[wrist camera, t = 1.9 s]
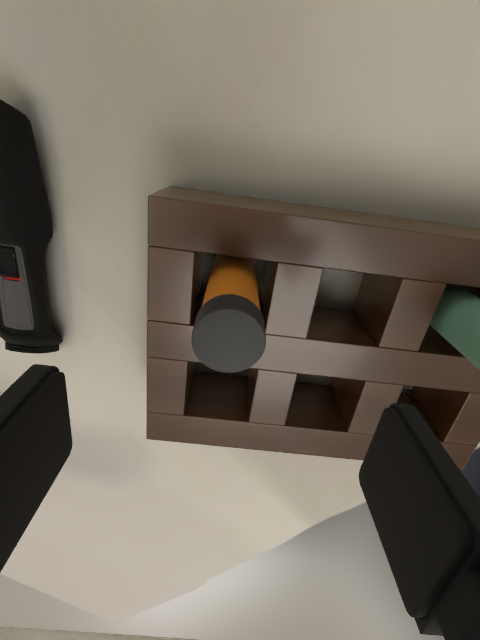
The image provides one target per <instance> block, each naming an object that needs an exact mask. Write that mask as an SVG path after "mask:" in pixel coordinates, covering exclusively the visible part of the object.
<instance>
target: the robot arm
mask: <svg viewBox="0 0 480 640" xmlns="http://www.w3.org/2000/svg"><path fill="white" fill-rule="evenodd" d="M71 449H72V435H71V426H70V417H69V409H68V400H67V391H66V382H65V375H64V373H62V372H59V369H58V368H57V367H56V366H47V365H38V364H35V365H32V366H31V367H30V368H29V369H28V370H27V371H26V372H25V373H24V374H23V375H22V376H21V377H20V378H19V379H17V380H16V381H15V382H14V383H13V384H12V385H11V386H10V387H9V388H8V389H7V390H6V391H5V392H4V393H3V394H2V395H1V396H0V572H1V570H2V569H3V567H4V565H5V564H6V562H7V560H8V558H9V557H10V555H11V553H12V552H13V550H14V548H15V547H16V545H17V543H18V541H19V540H20V538H21V536H22V535H23V533H24V531H25V530H26V528H27V526H28V524H29V523H30V521H31V519H32V518H33V516H34V514H35V513H36V511H37V509H38V507H39V506H40V504H41V502H42V501H43V499H44V497H45V496H46V494H47V492H48V491H49V489H50V487H51V485H52V484H53V482H54V480H55V479H56V477H57V475H58V474H59V472H60V470H61V468H62V467H63V465H64V463H65V462H66V460H67V458H68V457H69V455H70V452H71ZM359 481H360V485H361V488H362V491H363V493H364V496H365V499H366V502H367V504H368V507H369V510H370V512H371V515H372V518H373V520H374V523H375V526H376V529H377V531H378V534H379V537H380V540H381V542H382V545H383V548H384V551H385V553H386V556H387V559H388V562H389V565H390V567H391V570H392V573H393V575H394V578H395V581H396V584H397V586H398V589H399V592H400V595H401V597H402V600H403V603H404V605H405V608H406V610H407V612H408V614H409V615H410V616H411V617H414V618H415V621H416V623H417V626H418V629H419V631H420V634H428V635H441V636H444V638H445V640H480V498H479V496H478V495H477V494H476V492H475V491H474V489H473V488H472V487H471V485H470V484H469V482H468V481H467V479H466V478H465V477H464V475H463V474H462V472H461V471H460V470H459V468H458V467H457V465H456V464H455V462H454V461H453V460H452V458H451V457H450V455H449V454H448V452H447V451H446V450H445V448H444V447H443V445H442V444H441V443H440V441H439V440H438V438H437V437H436V435H435V434H434V433H433V431H432V430H431V428H430V427H429V426H428V424H427V423H426V421H425V420H424V418H423V417H422V416H421V414H420V413H419V411H418V410H417V409H416V407H415V406H413V405H406V404H396V403H393V404H391V405H390V406H389V408H385V409H384V410H383V413H382V415H381V418H380V420H379V423H378V425H377V428H376V430H375V433H374V435H373V438H372V441H371V443H370V446H369V448H368V451H367V453H366V456H365V458H364V461H363V463H362V466H361V468H360V472H359ZM0 640H194V639H181V638H167V637H153V636H138V635H123V634H107V633H92V632H77V631H61V630H44V629H31V628H15V627H0Z"/></svg>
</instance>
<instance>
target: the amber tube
mask: <svg viewBox="0 0 480 640" xmlns="http://www.w3.org/2000/svg"><path fill="white" fill-rule="evenodd" d="M191 343H192V348H193V351H194V353H195V355H196V356H197V358H198V359H199V360H200V361H201V362H202V363H203V364H204V365H206V366H207V367H209V368H211V369H213V370H215V371H219V372H224V373H235V372H240V371H243V370H246V369H248V368H250V367H251V366H253V365H254V364H255V363H256V362H257V361H258V360H259V359H260V358H261V356H262V354H263V352H264V350H265V346H266V335H265V327H264V320H263V316H262V314H261V312H260V304H259V296H258V287H257V278H256V269H255V262H254V259H251V258H243V257H235V256H227V255H219V254H217V256H216V257H215V259H214V262H213V266H212V270H211V274H210V277H209V281H208V285H207V289H206V292H205V296H204V300H203V304H202V307H201V308H200V310H199V312H198V314H197V317H196V321H195V324H194V328H193V331H192V336H191Z"/></svg>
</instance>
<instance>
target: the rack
mask: <svg viewBox="0 0 480 640" xmlns="http://www.w3.org/2000/svg"><path fill="white" fill-rule="evenodd" d="M148 245H149V246H148V301H147V319H148V320H147V439H152V440H162V441H172V442H182V443H193V444H203V445H213V446H223V447H233V448H244V449H254V450H264V451H274V452H284V453H295V454H305V455H315V456H325V457H335V458H346V459H356V460H364V458H365V456H366V453H367V451H368V448H369V446H370V443H371V441H372V438H373V435H374V433H375V430H376V428H377V425H378V423H379V420H380V418H381V415H382V413H383V410H384V409H385V408H389V406H390V405H391V404H393V403H396V404H406V405H413V406H415V407H416V409H417V410H418V411H419V413H420V414H421V416H422V417H423V418H424V420H425V421H426V423H427V424H428V426H429V427H430V428H431V430H432V431H433V433H434V434H435V435H436V437H437V438H438V440H439V441H440V443H441V444H442V445H443V447H444V448H445V450H446V451H447V452H448V454H449V455H450V457H451V458H452V460H453V461H454V462H455V464H456V465H457V467H458V468H459V470H463V468H464V466H465V464H466V463H467V461H468V460H469V458H470V457H471V455H472V453H473V452H474V450H475V448H476V447H477V445H478V444H479V442H480V370H479V369H478V368H477V367H475V366H474V365H473V364H472V363H471V362H470V361H469V360H468V359H467V358H466V357H464V356H463V355H462V354H461V353H460V352H459V351H458V350H457V349H456V348H455V347H453V346H452V345H451V344H450V343H449V342H448V341H447V340H446V339H445V338H444V337H442V336H441V335H440V334H439V333H438V332H437V331H436V330H435V329H434V328H433V327H432V326H430V322H431V320H432V318H433V315H434V313H435V310H436V308H437V306H438V303H439V301H440V299H441V296H442V294H443V292H444V289H445V287H446V283H447V284H455V285H459V286H460V287H462V288H463V289H465V290H467V291H468V292H470V293H471V294H473V295H475V296H476V297H478V298H480V229H479V228H471V227H464V226H457V225H449V224H442V223H435V222H427V221H420V220H413V219H405V218H398V217H391V216H383V215H376V214H369V213H361V212H354V211H347V210H339V209H332V208H325V207H317V206H310V205H303V204H295V203H288V202H281V201H273V200H266V199H259V198H251V197H244V196H237V195H229V194H222V193H215V192H207V191H200V190H193V189H185V188H178V187H171V186H169V187H167V188H165V189H162V190H160V191H158V192H155V193H153V194H151V195H149V196H148ZM203 253H211V254H219V255H227V256H235V257H243V258H251V259H259V260H266V261H267V264H266V270H265V276H264V282H263V288H262V294H261V300H259V304H260V312H261V314H262V316H263V320H264V327H265V335H266V346H265V350H264V352H263V354H262V356H261V358H260V359H259V360H258V361H257V362H256V363H255V364H254V365H253V366H251V367H250V368H249V371H248V377H241V376H232V375H222V374H213V373H204V372H195V371H194V363H195V362H201V361H200V360H199V359H198V358H197V356H196V355H195V353H194V351H193V348H192V343H191V336H192V331H193V328H194V324H195V321H196V317H197V314H198V312H199V310H200V308H201V307H202V304H203V300H204V296H205V293H200V289H201V276H202V264H203ZM323 268H329V269H337V270H345V271H353V272H361V273H365V274H364V277H363V280H362V283H361V287H360V290H359V293H358V296H357V300H356V303H355V306H354V310H353V311H347V310H339V309H330V308H322V307H314V305H315V301H316V297H317V293H318V289H319V285H320V281H321V277H322V273H323ZM201 363H202V362H201ZM297 373H300V374H309V375H318V376H327V377H333V378H332V381H331V384H330V386H323V385H314V384H305V383H296V378H297ZM404 385H409V386H414V388H413V390H412V392H411V395H406V394H400V393H401V391H402V389H403V386H404Z"/></svg>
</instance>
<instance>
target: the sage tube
mask: <svg viewBox="0 0 480 640" xmlns="http://www.w3.org/2000/svg"><path fill="white" fill-rule="evenodd" d="M430 326H432V327H433V328H434V329H435V330H436V331H437V332H438V333H439V334H440V335H441V336H442V337H444V338H445V339H446V340H447V341H448V342H449V343H450V344H451V345H452V346H453V347H455V348H456V349H457V350H458V351H459V352H460V353H461V354H462V355H463V356H464V357H466V358H467V359H468V360H469V361H470V362H471V363H472V364H473V365H474V366H475V367H477V368H478V369H479V370H480V298H478V297H476V296H475V295H473V294H471V293H470V292H468V291H467V290H465V289H463V288H462V287H460V286H458V285H455V284H447V283H446V287H445V289H444V292H443V294H442V296H441V299H440V301H439V303H438V306H437V308H436V310H435V313H434V315H433V318H432V320H431V322H430Z"/></svg>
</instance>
